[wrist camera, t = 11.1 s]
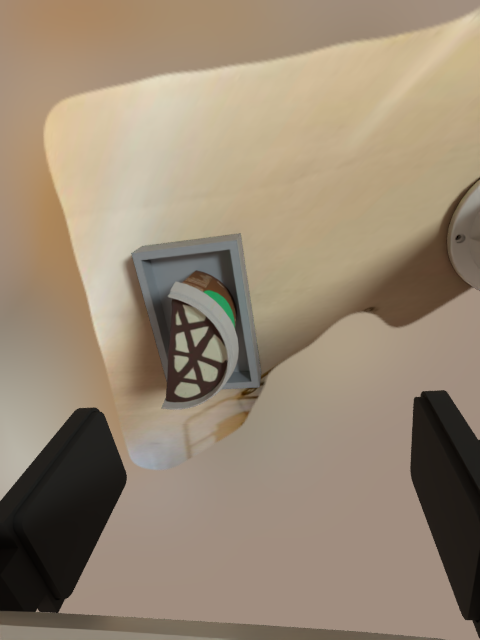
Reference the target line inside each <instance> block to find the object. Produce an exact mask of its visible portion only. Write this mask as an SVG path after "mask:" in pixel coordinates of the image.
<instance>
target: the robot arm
mask: <svg viewBox="0 0 480 640" xmlns="http://www.w3.org/2000/svg"><path fill="white" fill-rule="evenodd" d="M457 235H459V237H458V238H457V239H455V238H456V236H457ZM447 248H448V255H449V258H450V261H451V264H452V266H453V267H454V269H455V271H456V272H457V274H458V275H459V276H460V277H461V278H462V279H463V280H464V281H465V282H467V283H468V284H469V285H471V286H472V287H474V288H475V289H477V290H479V291H480V180H478V181H477V182H476V183H475V184H474V185H473V186H472V187H471V188H470V189H469V190H468V192H467V193H466V194H465V196H464V197H463V198H462V200H461V201H460V203H459V204H458V206H457V208H456V210H455V212H454V214H453V216H452V219H451V222H450V225H449V229H448V236H447ZM413 408H414V409H413V427H412V447H411V477H412V481H413V484H414V487H415V490H416V493H417V495H418V498H419V501H420V503H421V506H422V509H423V512H424V514H425V517H426V520H427V522H428V525H429V528H430V530H431V533H432V536H433V539H434V541H435V544H436V547H437V549H438V552H439V555H440V557H441V560H442V563H443V565H444V568H445V571H446V573H447V576H448V579H449V582H450V584H451V587H452V590H453V592H454V595H455V598H456V601H457V603H458V606H459V609H460V611H461V614H462V616H463V617H464V619H465V620H473V623H474V626H475V628H476V631H477V633H478V636H479V638H480V440H478V439H477V437H476V436H475V434H474V433H473V432H472V430H471V428H470V427H469V426H468V424H467V422H466V421H465V419H464V417H463V416H462V415H461V413H460V411H459V410H458V408H457V407H456V405H455V404H454V402H453V401H452V399H451V398H450V396H449V394H448V393H447V392H446V391H444V390H441V391H423V392H422V393H421V397H415V398H414V407H413ZM126 480H127V475H126V471H125V469H124V466H123V463H122V460H121V458H120V455H119V453H118V450H117V447H116V445H115V442H114V439H113V437H112V434H111V431H110V429H109V426H108V423H107V421H106V418H105V416H104V414H103V413H102V412H100V411H99V410H98V409H97V408H79V409H77V410H76V411H74V413H73V414H72V415H71V416H70V417H69V419H68V420H67V421H66V422H65V423H64V425H63V426H62V427H61V428H60V430H59V431H58V432H57V433H56V435H55V436H54V437H53V438H52V439H51V440H50V442H49V443H48V444H47V445H46V447H45V448H44V449H43V450H42V451H41V453H40V454H39V455H38V456H37V457H36V459H35V460H34V461H33V462H32V464H31V465H30V466H29V467H28V468H27V469H26V471H25V472H24V473H23V474H22V476H21V477H20V478H19V479H18V480H17V482H16V483H15V484H14V485H13V486H12V488H11V489H10V490H9V491H8V493H7V494H6V495H5V496H4V497H3V499H2V500H1V501H0V640H443V639H437V638H426V637H415V636H403V635H391V634H378V633H368V632H356V631H341V630H326V629H310V628H296V627H280V626H266V625H250V624H233V623H219V622H202V621H186V620H169V619H152V618H136V617H118V616H100V615H81V614H62V613H58V612H59V610H60V608H61V606H62V604H63V602H64V600H65V599H66V598H68V597H69V596H70V595H71V594H72V592H73V590H74V588H75V586H76V584H77V582H78V580H79V578H80V576H81V574H82V572H83V570H84V568H85V566H86V564H87V562H88V560H89V558H90V556H91V554H92V552H93V549H94V548H95V546H96V544H97V541H98V539H99V537H100V535H101V533H102V531H103V529H104V527H105V525H106V523H107V521H108V519H109V517H110V515H111V513H112V511H113V509H114V507H115V505H116V503H117V501H118V499H119V497H120V495H121V493H122V490H123V489H124V487H125V484H126ZM37 608H38V610H39V611H40V612H36V610H37ZM44 612H52V613H44Z"/></svg>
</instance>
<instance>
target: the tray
mask: <svg viewBox="0 0 480 640" xmlns="http://www.w3.org/2000/svg"><path fill="white" fill-rule="evenodd" d="M131 254H132V258H133V261H134V265H135V268H136V272H137V276H138V279H139V283H140V287H141V290H142V294H143V297H144V301H145V305H146V308H147V312H148V316H149V319H150V323H151V326H152V330H153V334H154V337H155V341H156V345H157V348H158V352H159V355H160V359H161V363H162V366H163V370H164V374H165V377H166V381H167V374H168V349H169V339H170V328H171V315H172V304H171V303H172V298H169V297H168V295H169V294H170V290H171V288H172V287H173V285H174V283H175V281H176V282H180V283H182V282H183V281H184V280H185V279H187V278H188V277H189V276H190V275H191V274H192V273H193V272H194V271H196V270H197V271H201V272H205V273H207V274H210V275H212V276H213V277H215V278H217V279H218V280H219V281H221V282H222V283H223V284H224V285H225V286H226V287H227V288H228V290H229V291H230V293H231V294H232V296H233V298H234V301H235V304H236V309H237V318H236V325H235V331H236V335H237V338H238V347H239V351H238V360H237V364H236V367H235V369H234V371H233V373H232V375H231V377H230V378H229V379H228V381H227V382H226V384H225V385H224V386H223V388H222V389H237V388H255V387H260V379H261V367H260V360H259V354H258V347H257V340H256V333H255V327H254V320H253V313H252V307H251V300H250V293H249V286H248V280H247V273H246V266H245V260H244V253H243V246H242V239H241V233H240V234H232V235H225V236H217V237H209V238H201V239H194V240H186V241H178V242H170V243H163V244H155V245H147V246H142V247H140V248H139V249H137V250H136V251H134V252H133V253H131Z"/></svg>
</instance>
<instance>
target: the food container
mask: <svg viewBox="0 0 480 640" xmlns="http://www.w3.org/2000/svg"><path fill="white" fill-rule="evenodd" d="M168 297H169V298H172V303H171V304H172V315H171V328H170V339H169V349H168V374H167V391H166V399H165V401H164V403H163V405H162V408H163V409H186V408H191V407H194V406H197V405H200V404H202V403H204V402H206V401H207V400H209V399H210V398H212V397H213V396H215V395H216V394H217V393H218V392H219V391H220V390H221V389H222V388H223V386H224V385H225V384H226V382H227V381H228V379H229V378H230V377H231V375H232V373H233V371H234V369H235V367H236V364H237V360H238V351H239V347H238V338H237V335H236V331H235V325H236V318H237V309H236V304H235V301H234V298H233V296H232V294H231V293H230V291H229V290H228V288H227V287H226V286H225V285H224V284H223V283H222V282H221V281H219V280H218V279H217V278H215V277H213V276H212V275H210V274H207V273H205V272H201V271H197V270H196V271H194V272H193V273H192V274H191V275H190V276H189V277H188V278H187V279H185V280H184V281H183V282H182V283H180V282H176V281H175V283H174V285H173V287H172V288H171V290H170V294H169V295H168Z"/></svg>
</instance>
